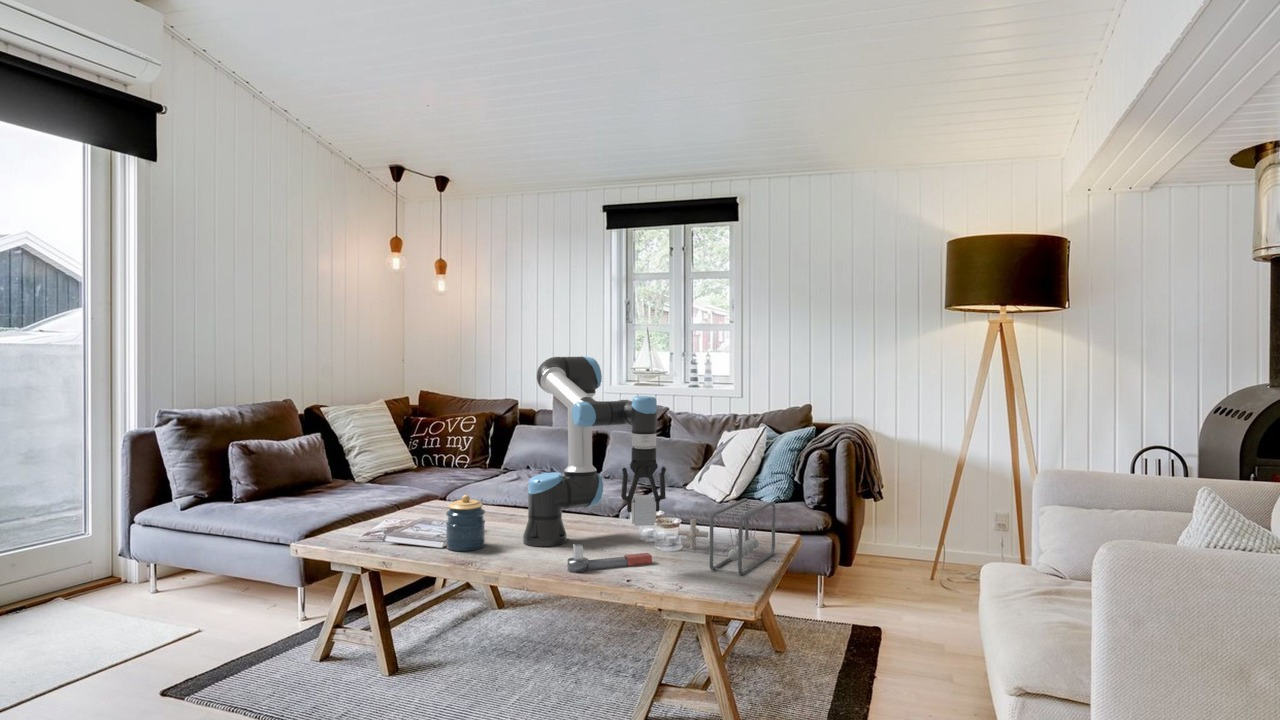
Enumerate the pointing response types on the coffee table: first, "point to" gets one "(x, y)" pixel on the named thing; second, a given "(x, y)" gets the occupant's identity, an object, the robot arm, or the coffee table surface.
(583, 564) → the ratchet
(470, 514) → the canister
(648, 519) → the light grey block
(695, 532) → the beige peg jack
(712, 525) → the newton's cradle
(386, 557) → the coffee table surface
